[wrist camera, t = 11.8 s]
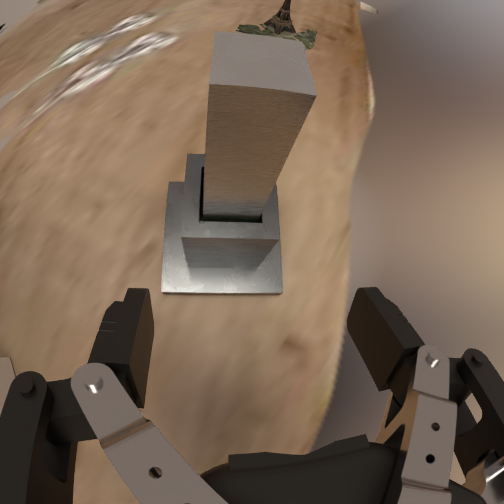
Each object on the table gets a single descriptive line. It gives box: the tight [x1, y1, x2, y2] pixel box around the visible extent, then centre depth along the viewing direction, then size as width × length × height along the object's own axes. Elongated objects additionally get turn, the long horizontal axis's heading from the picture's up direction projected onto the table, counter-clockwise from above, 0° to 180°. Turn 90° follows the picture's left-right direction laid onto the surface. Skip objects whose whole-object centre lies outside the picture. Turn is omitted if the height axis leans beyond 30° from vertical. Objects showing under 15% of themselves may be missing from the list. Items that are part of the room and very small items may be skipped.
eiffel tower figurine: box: [236, 0, 317, 50], centre depth 40 cm, size 15×10×13 cm
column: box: [203, 31, 317, 223], centre depth 18 cm, size 4×4×16 cm
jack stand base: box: [161, 154, 283, 295], centre depth 27 cm, size 12×12×10 cm
